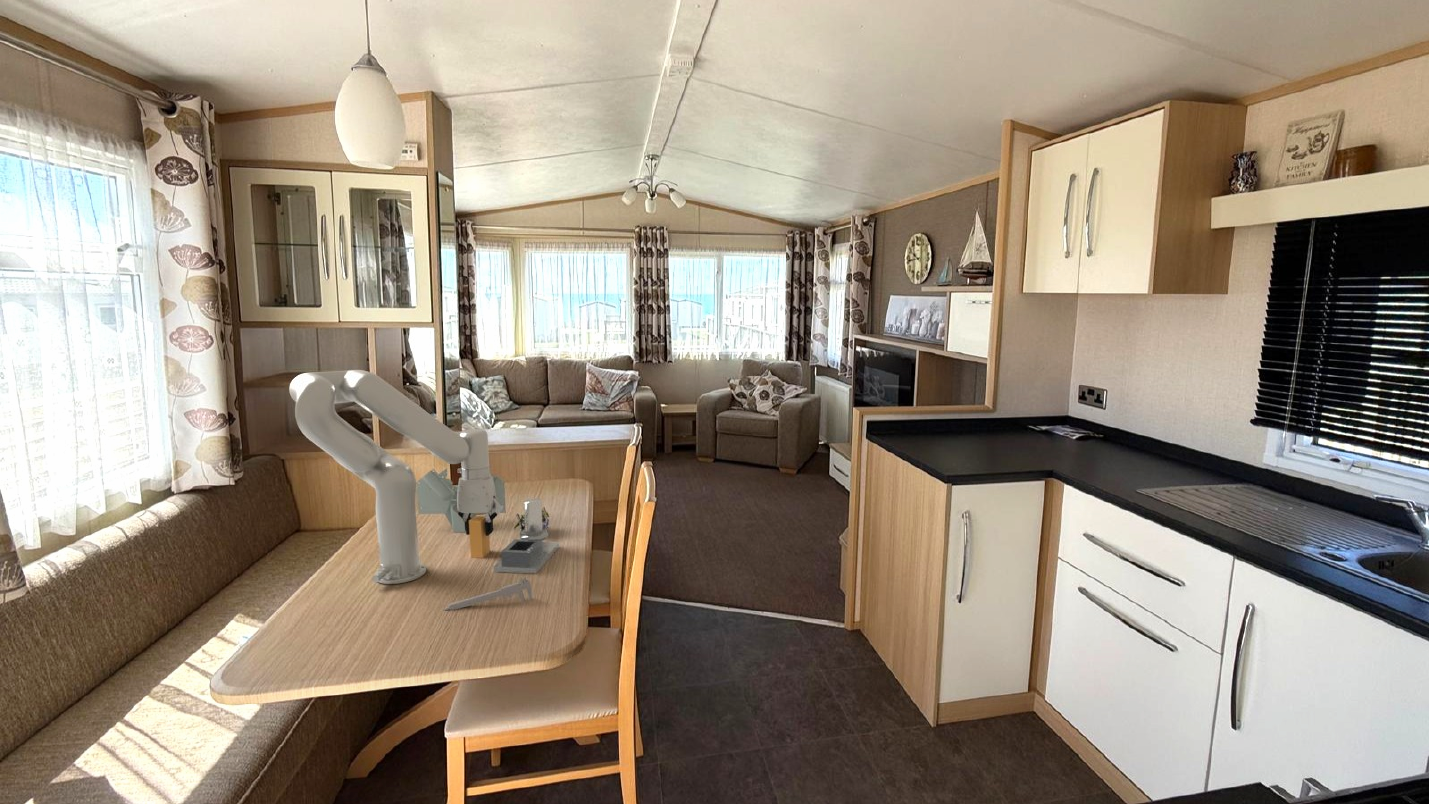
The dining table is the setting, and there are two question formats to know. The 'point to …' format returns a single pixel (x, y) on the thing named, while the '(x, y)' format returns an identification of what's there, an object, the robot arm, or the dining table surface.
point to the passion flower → (544, 520)
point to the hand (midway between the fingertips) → (479, 533)
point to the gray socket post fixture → (528, 544)
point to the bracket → (448, 497)
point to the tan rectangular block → (478, 537)
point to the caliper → (495, 594)
